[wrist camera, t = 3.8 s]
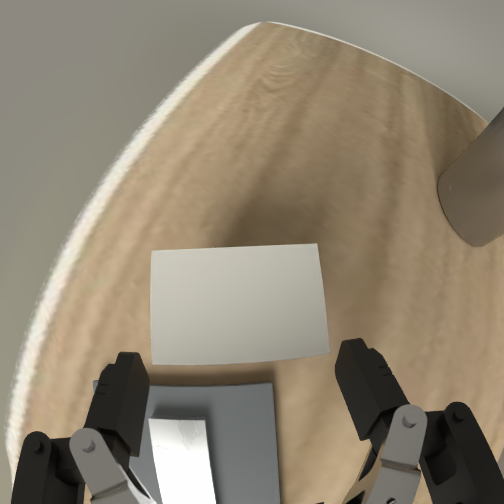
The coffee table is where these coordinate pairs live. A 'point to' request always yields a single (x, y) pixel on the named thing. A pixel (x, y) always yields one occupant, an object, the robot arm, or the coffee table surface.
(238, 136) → the coffee table surface
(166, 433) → the rail
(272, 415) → the rail board
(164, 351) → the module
